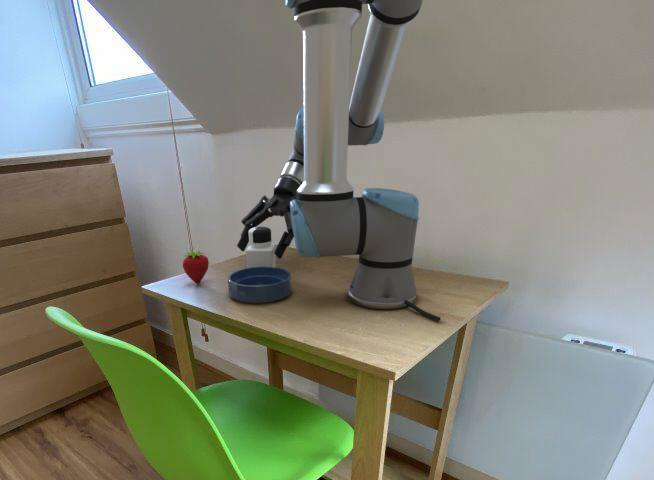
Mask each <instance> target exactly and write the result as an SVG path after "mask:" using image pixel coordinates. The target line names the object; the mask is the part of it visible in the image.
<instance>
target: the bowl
mask: <svg viewBox="0 0 654 480" xmlns="http://www.w3.org/2000/svg"><path fill="white" fill-rule="evenodd" d="M227 287H228V295H229V296H230V297H231V299H234V300H236V301H239V302H244V303H251V304H261V303H269V302H275V301H278V300H281V299H284V298H286V297H288V296H289V295H290V294H291V293H292V274H291V272H290V271H288V270H287V269H285V268H282V267H277V266H276V267H266V266H260V267H250V268H247V267H245V268H241V269H237V270H235V271H233V272H231V273H230V274H229V275H228V276H227Z"/></svg>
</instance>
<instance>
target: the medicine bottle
mask: <svg viewBox="0 0 654 480" xmlns="http://www.w3.org/2000/svg"><path fill="white" fill-rule="evenodd" d="M248 244H249V245H247V247H246V249H245V256H246V268H250V267H260V266H266V267H277V266H276V264H277V263H276V255H275V254H274V252H275V250H276V243H274V242H272V229H271V228H269V227H267V226H256V227H254V228H252V229H250V230H249V242H248Z"/></svg>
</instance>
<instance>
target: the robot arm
mask: <svg viewBox="0 0 654 480" xmlns="http://www.w3.org/2000/svg"><path fill="white" fill-rule="evenodd" d="M284 1H285V6H286V7H287V8H289V9H291V10H292V9H293V11H294V13H293V14H294V16H293V18H294V23H295V24H296V25H297V27H298V28H299V29H300V30H301V33H302V43H303V44H302V46H303V47H302V61H303V62H302V67H303V68H302V70H303V71H302V73H303V76H302V79H303V81H302V82H303V86H302V87H303V88H302V89H303V91H302V92H303V106H302V107H301V108H300V109H299V111H298V113H297V114H296V115H297V116H296V119H295V120H296V121H295V124H294V140H293V149H292V150H291V151H292V152H291V153H290V155H289V157H288V160H287V162H286V163H285V165H284V168H283V169H282V171H281V174H280V175H279V178H278V180H277V182H276V184H275V186H274V188H273V194H272V196H271V197H267V195H265V194H264V195H263V196H262V197H261V199H260V200H259V202H258V203H257V204H256V205H255V206H254V207H253V208H252V209H251V210H250V211H249V212H248V213H247V214H246V215H245V216H244V217H243V218H242V219H241V221H240V222H241V224H242V225H243V230H242V232H241V234H240V238H239V241H238V242H237V244H236V247H237V248H238V249H239V250H240V251H241V252H245V251H246V249H247V247H248V244H249V230H250V229H252V228H254V227H259V225H261V224H262V223H264V222H265V221H266V220H268V219H269V218H273V217H274V216H275V217H281V218H284V220H285V221H284V222H285V226H286V231H285V230H284V232H283V233H282V236H281V238H280V239H279V241H278V244H277V246H276V247H275V252H274V254H275V257H277V258H278V259H282V258H283V256H284V254H285V251H286V249H287V248H289V247H290V245H291V244H292V241H293V240H294V243H295V249H296V252H297V253H298V255H299V256H301V257H302V258H317V259H320V258H324V257H325V258H327V257H343V256H358V263H357V267H356V270H355V272H354V275H353V277H352V280H351V283H350V284H349V288H348V299H349V300H350V302H351V303H353V304H355V305H357V306H359V307H362V308H367V309H373V310H386V311H387V310H397V309H403V308H407V307H409V308H410V309H412V310H414V311H415V312H417V313H418V314H420V315H422V316H424V317H426V318H428V319H431V320H433V321H436V322H440V321H441V317H440V316H438V315H435V314H433V313H429V312H428V311H425V310H423V309H421V308H420V307H419V306H417V305H415V304H414V303H415V302H416V299H417V287H416V282H415V277H414V272H413V257H414V250H415V244H416V234H417V228H418V221H419V219H420V217H419V210H420V201H419V198H418V197H417V196H416V195H415V194H413V193H410V192H407V191H402V190H397V189H391V188H381V187H367V188H365V189H363V190H362V193H361V196H356V197H355V196H354V192H355V189H354V187H353V186H352V184H351V183H350V182H349V180H348V177H347V176H348V152H349V151H348V150H349V146H351V147H352V146H368V145H375V144H379V143H380V142H381V141H382V138H383V137H384V130H385V115H384V112H383V111H382V107H383V104H384V101H385V98H386V96H387V95H386V94H387V92H388V88H389V86H390V83H391V80H392V77H393V74H394V70H395V68H396V65H397V61H398V58H399V55H400V52H401V50H402V47H403V44H404V41H405V37H406V34H407V32H408V28H409V25H410V23H412V21H414V20H415V19H416V18H417V16H418V14H419V12H420V9H421V7H422V5H423V1H424V0H284ZM363 5H367V6H368V10H369V12H370V13H369V18H368V23H367V28H366V32H365V36H364V41H363V45H362V50H361V54H360V58H359V63H358V66H357V71H356V75H355V80H354V83H353V88H352V93H351V71H352V68H351V66H352V65H351V64H352V42H353V41H352V40H353V39H352V38H353V30H354V27H355V25H356V24H357V23H358V22H359V20H361V18H362V13H363ZM350 95H351V97H350Z"/></svg>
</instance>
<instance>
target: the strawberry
mask: <svg viewBox="0 0 654 480" xmlns="http://www.w3.org/2000/svg"><path fill="white" fill-rule="evenodd" d="M194 248H195V247H193V248H192V250H194ZM184 257H185V258H184V259H183V261H182V268H183V270H184V273H185V274H186V275H187V277H189V279H190V280H191V281H192V282H194V283H195V284H196V285H199V284H200V283H201V282H202V280H203V278H204V277H205V275H206V274H207V272H208V270H209V264H210V261H209V258H208V257H207V256H206V255H205V254H204V252H201V251H200V250H199V251H190V252H186V255H184Z"/></svg>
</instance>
